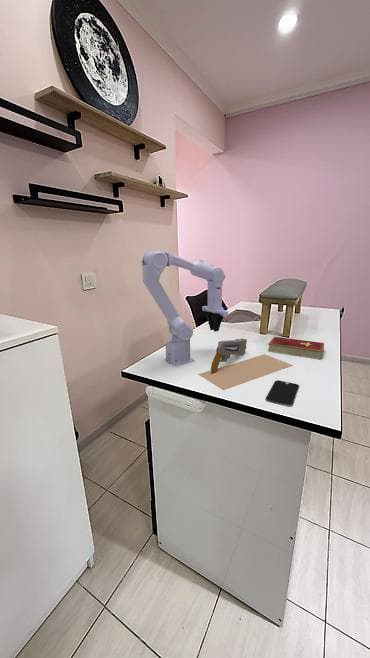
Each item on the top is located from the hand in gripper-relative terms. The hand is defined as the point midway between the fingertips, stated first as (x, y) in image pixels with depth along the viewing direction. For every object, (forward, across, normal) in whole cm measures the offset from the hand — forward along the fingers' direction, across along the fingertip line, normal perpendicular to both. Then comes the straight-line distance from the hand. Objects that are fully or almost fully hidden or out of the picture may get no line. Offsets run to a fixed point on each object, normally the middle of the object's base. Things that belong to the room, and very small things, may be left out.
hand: (214, 330), depth 115 cm
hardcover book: (+11, -17, -31) cm, 37 cm away
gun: (+11, -10, 0) cm, 15 cm away
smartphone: (+11, -38, +3) cm, 40 cm away
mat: (+11, -20, 0) cm, 22 cm away
